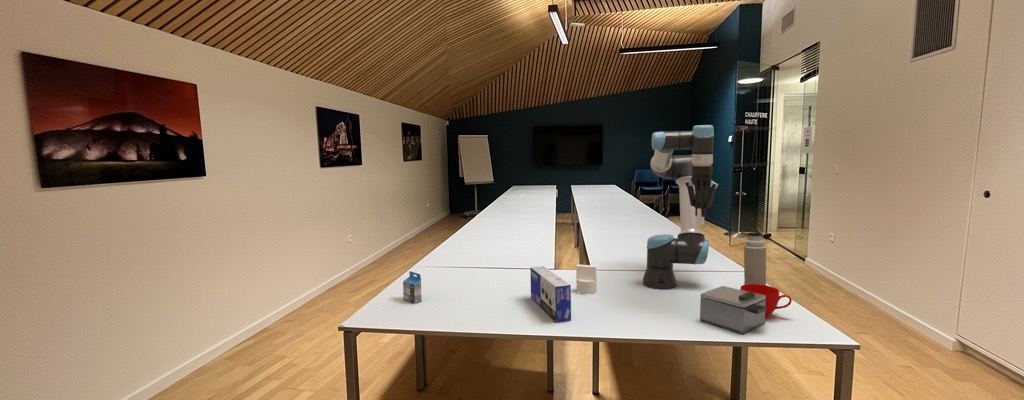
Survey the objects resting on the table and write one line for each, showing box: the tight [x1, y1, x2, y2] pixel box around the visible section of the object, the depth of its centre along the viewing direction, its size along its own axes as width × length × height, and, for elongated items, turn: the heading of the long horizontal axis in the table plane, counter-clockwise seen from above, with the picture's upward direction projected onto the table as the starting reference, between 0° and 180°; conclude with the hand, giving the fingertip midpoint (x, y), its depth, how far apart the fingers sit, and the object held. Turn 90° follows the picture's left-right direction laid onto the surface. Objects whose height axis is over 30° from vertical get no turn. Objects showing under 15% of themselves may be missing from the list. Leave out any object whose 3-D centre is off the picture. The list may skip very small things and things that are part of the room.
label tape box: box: [402, 270, 423, 304], centre depth 194 cm, size 9×4×12 cm, turn 47°
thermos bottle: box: [743, 231, 767, 285], centre depth 186 cm, size 8×8×28 cm
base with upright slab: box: [575, 263, 598, 295], centre depth 201 cm, size 9×9×12 cm
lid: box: [700, 285, 766, 308], centre depth 162 cm, size 16×15×2 cm
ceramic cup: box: [739, 284, 793, 318], centre depth 169 cm, size 13×17×10 cm
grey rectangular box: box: [699, 296, 766, 335], centre depth 161 cm, size 18×15×9 cm
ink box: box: [530, 265, 572, 323], centre depth 181 cm, size 30×7×14 cm, turn 15°
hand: (700, 224), depth 177 cm, fingers closed
